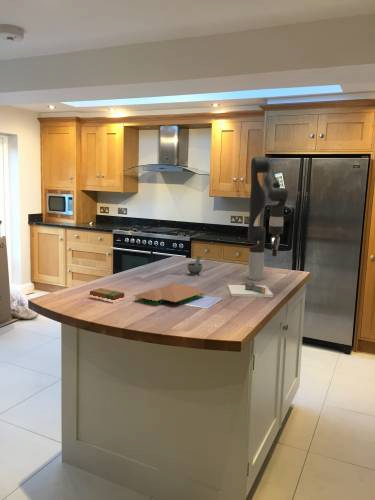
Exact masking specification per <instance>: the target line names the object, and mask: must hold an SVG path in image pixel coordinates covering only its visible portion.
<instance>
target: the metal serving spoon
mask: <svg viewBox="0 0 375 500" xmlns="http://www.w3.org/2000/svg"><path fill="white" fill-rule="evenodd" d="M244 285H245V289H246V290H254V291H258V292H261V293H265V289H266V288H262V287H259V286H256V285H257V284H256V285H255V283H253V282H246V283H245V284H244Z"/></svg>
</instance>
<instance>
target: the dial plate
mask: <svg viewBox="0 0 375 500" xmlns="http://www.w3.org/2000/svg"><path fill="white" fill-rule="evenodd" d="M256 286H259V287H262V288H266V289H265V293H261V292H258V291H254V290H246V289H245V284H227V289H228V292H229V293H230V296H231V297H236V298H237V297H238V298H239V297H241V298H242V297H243V298H248V297H249V298H274V294H273V292H272V291H271V289H269V287H268V286H267V285H257V284H256Z"/></svg>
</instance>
